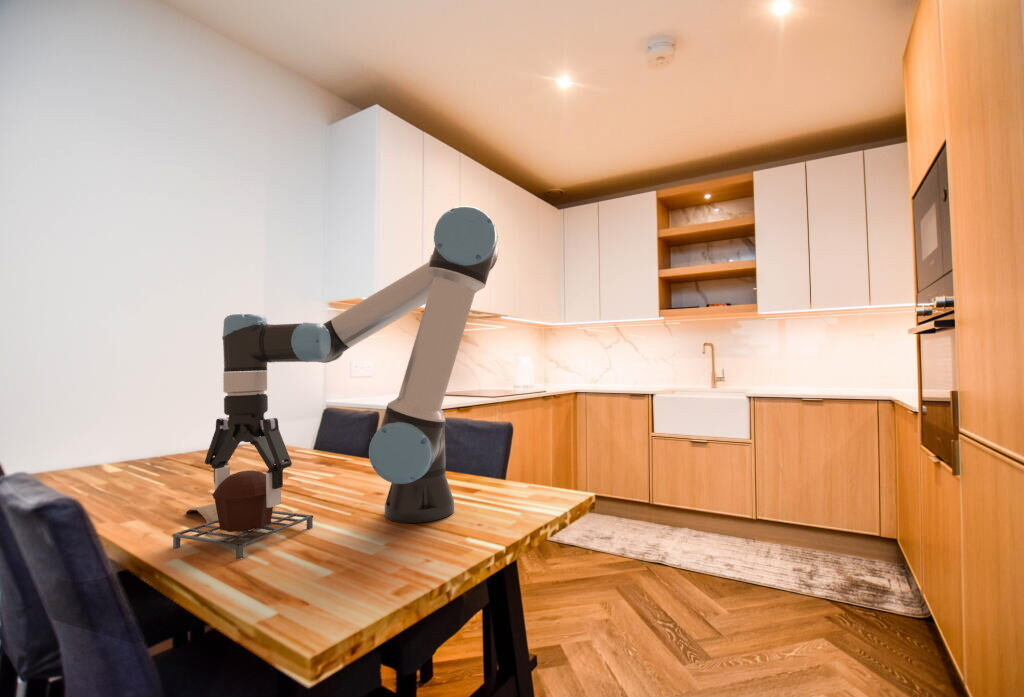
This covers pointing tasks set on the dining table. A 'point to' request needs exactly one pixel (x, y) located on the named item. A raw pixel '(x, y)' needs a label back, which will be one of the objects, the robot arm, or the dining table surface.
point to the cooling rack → (239, 546)
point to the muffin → (242, 502)
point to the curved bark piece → (206, 512)
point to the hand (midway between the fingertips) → (247, 503)
